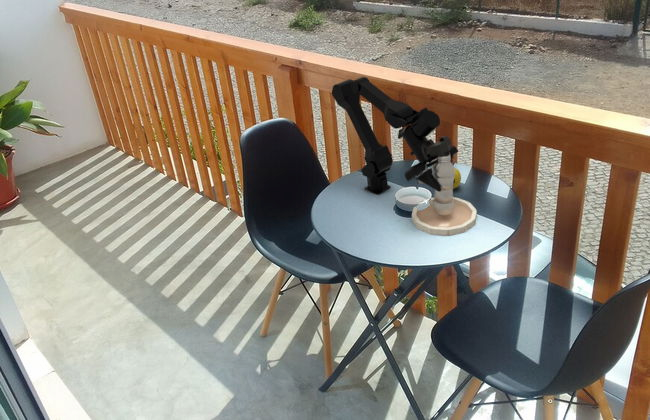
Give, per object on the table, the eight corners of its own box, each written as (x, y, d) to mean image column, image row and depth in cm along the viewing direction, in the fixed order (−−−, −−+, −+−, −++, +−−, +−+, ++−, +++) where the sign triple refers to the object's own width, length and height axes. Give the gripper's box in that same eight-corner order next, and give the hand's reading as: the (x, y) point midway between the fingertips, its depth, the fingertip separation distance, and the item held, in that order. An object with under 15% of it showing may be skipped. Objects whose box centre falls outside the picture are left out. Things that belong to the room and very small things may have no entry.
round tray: (400, 220, 184) (399, 215, 183) (438, 196, 194) (438, 190, 193) (449, 242, 171) (449, 236, 170) (488, 215, 182) (488, 209, 181)
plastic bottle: (441, 204, 186) (441, 147, 176) (459, 212, 181) (460, 153, 171) (428, 213, 183) (427, 154, 172) (445, 221, 178) (445, 161, 168)
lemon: (460, 193, 195) (461, 171, 190) (443, 192, 196) (443, 171, 192) (460, 184, 199) (461, 163, 195) (444, 184, 200) (444, 163, 196)
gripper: (411, 141, 166) (441, 188, 165) (454, 120, 176) (483, 164, 174) (391, 158, 176) (420, 203, 174) (433, 137, 185) (461, 179, 184)
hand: (447, 187), depth 176 cm, fingers closed on plastic bottle, 6 cm apart
